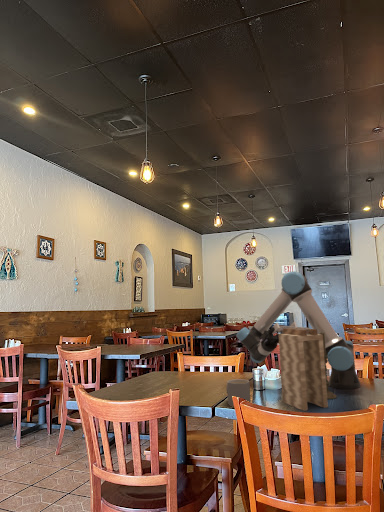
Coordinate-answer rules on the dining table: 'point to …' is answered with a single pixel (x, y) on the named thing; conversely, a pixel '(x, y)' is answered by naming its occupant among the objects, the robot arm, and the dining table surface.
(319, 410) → the dining table surface
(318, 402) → the brown wavy-patterned folding screen
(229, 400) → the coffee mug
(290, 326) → the hook arm
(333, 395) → the candlestick holder
